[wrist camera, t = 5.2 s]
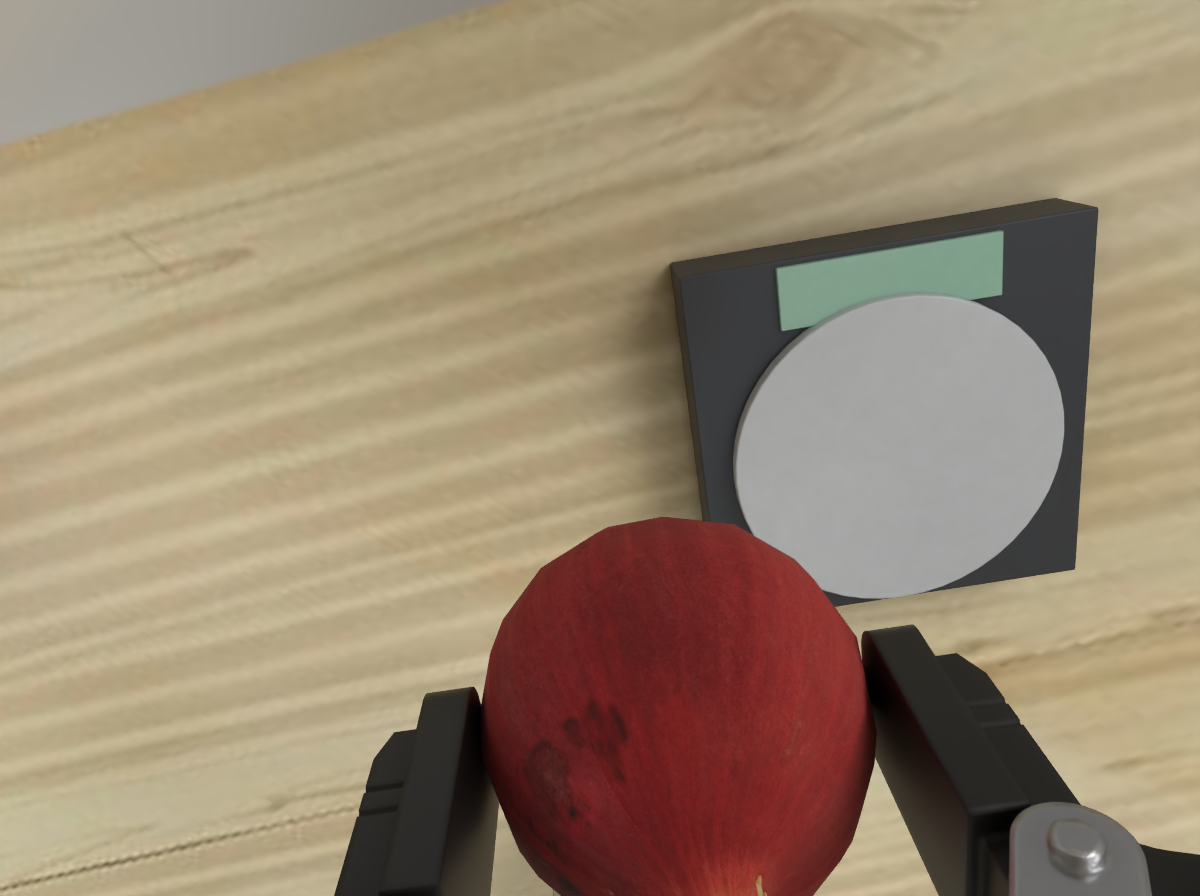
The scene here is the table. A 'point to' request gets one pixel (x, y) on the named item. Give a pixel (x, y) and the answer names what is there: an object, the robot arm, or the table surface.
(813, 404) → the scale
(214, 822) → the table surface
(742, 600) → the onion
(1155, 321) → the table surface
